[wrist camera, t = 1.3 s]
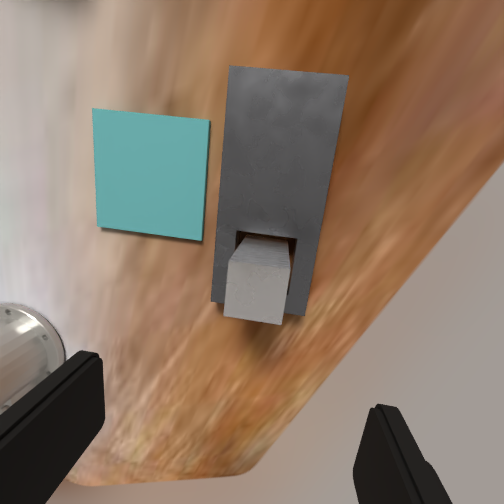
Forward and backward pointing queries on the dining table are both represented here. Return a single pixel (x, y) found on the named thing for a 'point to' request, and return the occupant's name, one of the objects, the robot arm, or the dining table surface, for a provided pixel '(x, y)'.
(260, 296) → the steel block
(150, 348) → the dining table surface
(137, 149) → the mat
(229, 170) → the slotted plate
